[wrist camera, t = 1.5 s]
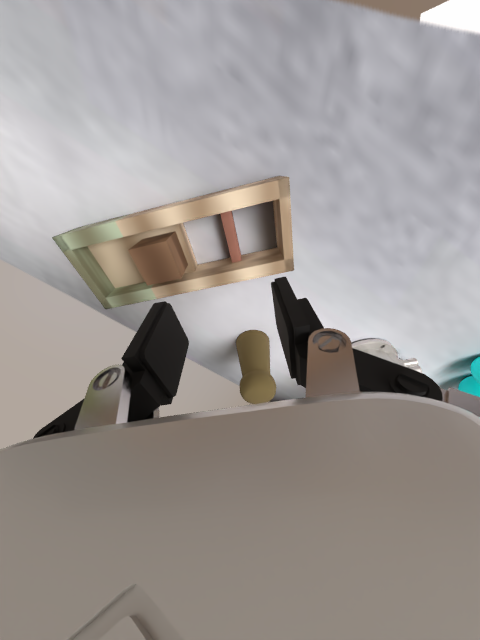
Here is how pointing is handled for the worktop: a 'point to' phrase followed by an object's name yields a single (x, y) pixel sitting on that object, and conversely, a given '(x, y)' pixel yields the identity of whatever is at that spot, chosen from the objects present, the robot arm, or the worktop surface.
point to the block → (159, 258)
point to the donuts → (472, 380)
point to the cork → (255, 367)
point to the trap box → (124, 232)
